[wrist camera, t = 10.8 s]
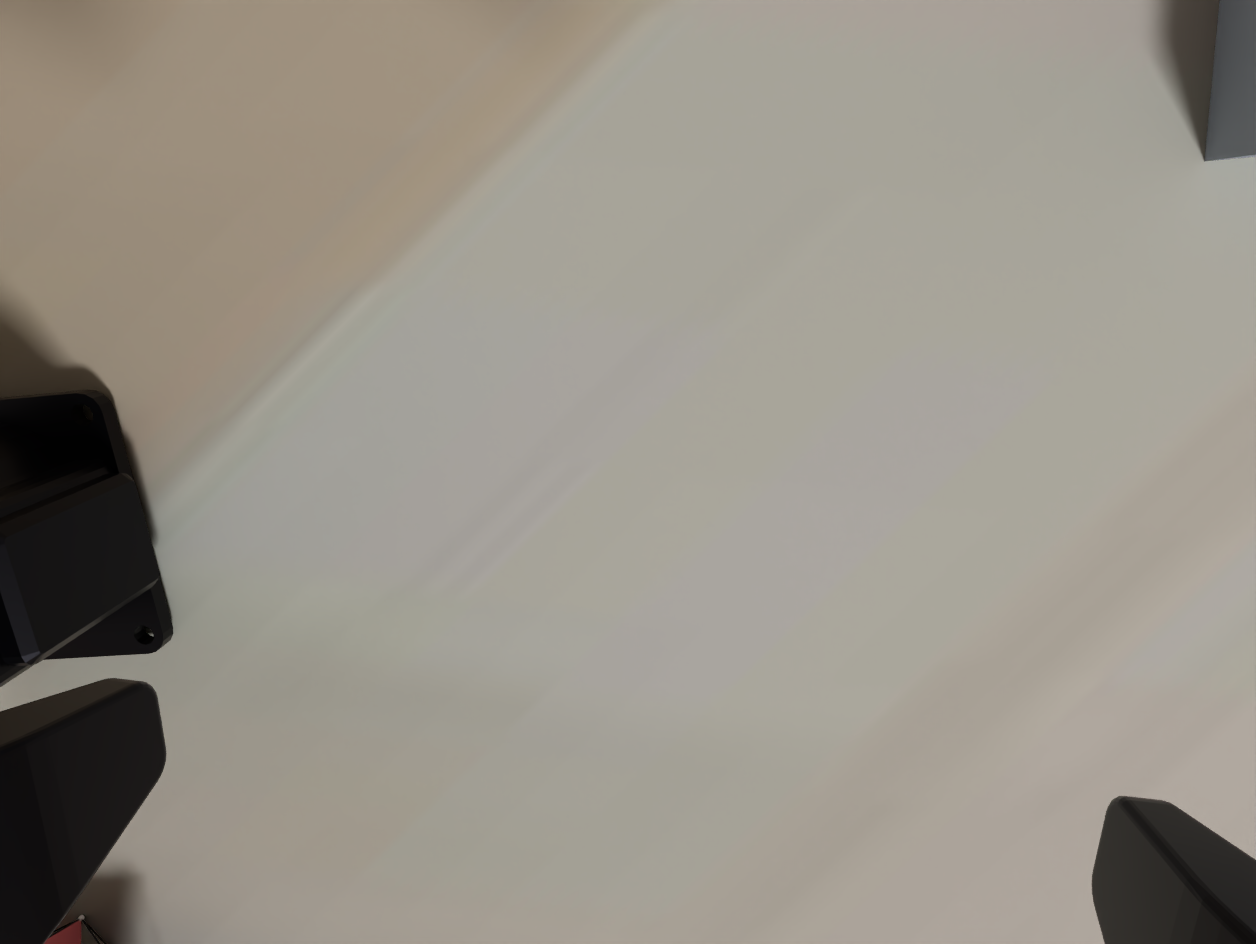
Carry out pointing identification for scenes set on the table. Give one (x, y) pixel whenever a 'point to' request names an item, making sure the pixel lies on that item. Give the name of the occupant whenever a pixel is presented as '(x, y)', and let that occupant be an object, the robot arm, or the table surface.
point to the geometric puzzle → (71, 933)
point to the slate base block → (1233, 84)
